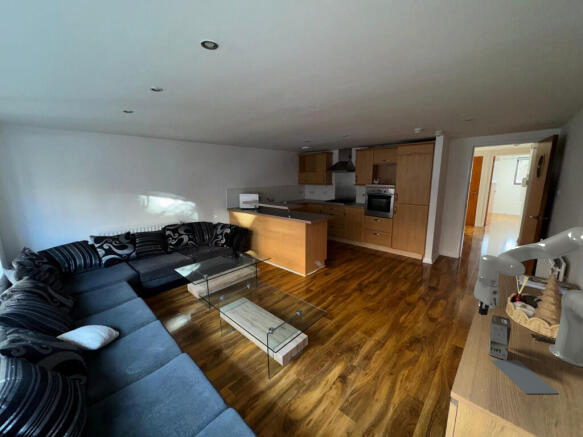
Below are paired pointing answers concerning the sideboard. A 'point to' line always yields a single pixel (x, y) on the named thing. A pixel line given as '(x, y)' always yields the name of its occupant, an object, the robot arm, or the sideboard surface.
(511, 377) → the felt mat
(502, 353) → the coffee box
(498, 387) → the sideboard surface
